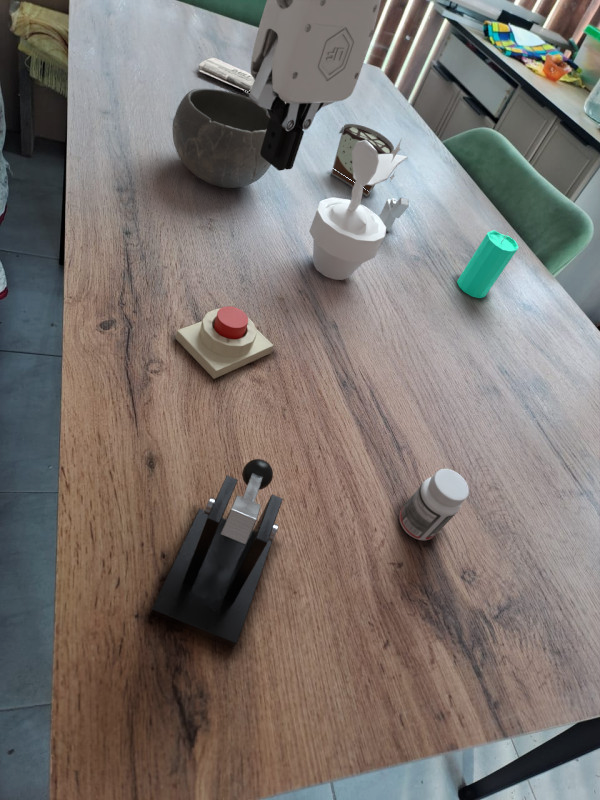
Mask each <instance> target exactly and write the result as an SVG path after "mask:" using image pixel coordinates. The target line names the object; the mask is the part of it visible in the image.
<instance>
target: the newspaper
mask: <svg viewBox="0 0 600 800" xmlns="http://www.w3.org/2000/svg"><path fill="white" fill-rule="evenodd" d="M198 69H199V70H198V72H200V73H202V74H205V75H207V76H209V77H212V78H214V79H216V80H219V81H221V82H223V83H225V84H228V85H230V86H233V87H234V88H237V89H240V90H242V91H244V90H245V91H244V92H246V91H248V92H250V91H251V88H252V86H253V83H254V81H255V79H254V78H253V77H252V75H251V72H247V71H246V70H243V69H242V68H240V67H236V66H234V65H232V64H229V63H228V62H225V61H223V60H221V59H218V58H216V57H211V58H207V59H205V60H203V61H201V62H200V63H199V64H198ZM249 90H250V91H249ZM248 92H247V93H248ZM285 104H286V102H285Z"/></svg>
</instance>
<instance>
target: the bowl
mask: <svg viewBox="0 0 600 800" xmlns="http://www.w3.org/2000/svg"><path fill="white" fill-rule="evenodd" d="M266 111H267V109H266V108H263V107H260V106H258V105H257V104H256V103H255V102H253V101H252V100H251V99H250V98H249V97H247V96H245V95H242V94H238V93H236V92H232V91H231V92H230V91H227V90H222V89H216V88H194V89H192V90H189V91H188V92H187V93H186V94H185V95H184V96H183V98H182V99H181V100H180V103H179V104H178V106H177V109H176V112H175V115H174V116H173V119H172V139H173V140H172V141H173V145H174V148H175V151H176V154H177V155H178V157H179V159H180V161H181V162H182V163H183V165H184V167H186V168H187V170H189V171H190V173H192V174H193V175H194V176H195V177H197V178H199V179H200V180H202V181H204V182H205V183H208V184H209V185H211V186H215V187H218V188H222V189H237V188H243V187H247V186H250V185H251V184H254V183H256V182H257V181H258V180H260V179H261V178H262V177H264V175H265V174H266V173H267V172H268V170H270V168H271V166H272V165H271V164H270V163H269V162H268V161H266V160H265V159H264V158H263V157H262V156H261V154H260V151H261V148H262V144H263V141H264V137H265V133H266V130H267V126H268V123H269V119H270V117H268V116H267V114H266Z"/></svg>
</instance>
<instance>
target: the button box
mask: <svg viewBox="0 0 600 800" xmlns="http://www.w3.org/2000/svg"><path fill="white" fill-rule="evenodd" d="M221 308H222V307H219V308H215V309H213V310H210V311H207V312H206V314H205V315H204V316H203V318H202V320H201V321H199V322H196V323H192V324H191V325H187V326H185V327H182V328H179V329H177V330H176V334H175V340H176V341H177V342H178V343H179V344H180V345H181V346H182V347H183V348H184V349H185V350H186V351H187V352H188V354H190V355H191V356H192V358H193V359H194V360H195V361H196V362H197V363H198V364H199V365H200V366H201V367H202V368H203V369H204V370H205V371H206V373H207V374H209V375H210V377H211V378H213V379H214V380H215V379H217V378H219V377H222V376H223V375H226V374H228V373H230V372H232V371H234V370H237V369H239V368H241V367H243V366H246V365H248V364H250V363H253V362H254V361H257V360H259V359H261V358H264V357H265V356H268V355H270V354H272V351H273V349H274V344H273V343H271V341H270V340H269V339H268V338H267V337H266V336H265V335H263V334H262V333H261V332H260V331H259V329H258V328H256V325H255V322H254V321H252V320H251V319H250V318H249V317H248V324H247V327H246V330H245V333H244V335H243V336H242V337H241V338H239V339H227V338H225V337H222V336H220V335H219V334H218V333H217V332H216V331H215V329H214V323H215V320H216V316H217V312H218V310H219V309H221Z"/></svg>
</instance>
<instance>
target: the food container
mask: <svg viewBox="0 0 600 800" xmlns="http://www.w3.org/2000/svg"><path fill="white" fill-rule="evenodd" d="M338 134H340V139H339V142H338V147H337V150H336V153H335V158H334V161H333V165H332V168H334V169H336V170H337V171H339V172H340V173H342V174H343V175H345V176H346V177H348V178H349V179H351V180H352V181H351V180H349V179H348V178H346V177H345V176H343V175H341V174H340V173H338V172H337V171H335V170H334V169H332V168H331V175H332V176H334V177H336V178H337V179H339V180H340V181H342V182H344V183H345V184H347V185H348V186H350V187H351V188H353V187H354V184H355V183H354V182H356V180H355V179H354V178H353V173H354V171H353V165H352V150H353V149H354V147H355V145H356V143H357V142H359V141H362V140H367V141H368V142H369V143H370V144H371V145H372V146H373V147H374V148H375V149H376V151H377V153H378V155H379V154H393V153H391V152H392V151H394V150H395V146H394V144H393V143H392V142H391V140H389V138H388V137H386V136H385V135H384V134H381V133H380V132H378V131H377V130H375V129H373V128H370V127H367V126H365V125H362V124H361V125H360V124H358V123H344V125H343V126H341V128H340V131H338ZM353 181H354V182H353ZM363 187H364V188H365V189H366V190H365V189H364V188H363V193H362V195H364V196H365V197H369V196H370V195H371V193H372V191H373V190H374V188H375V187H376V184H375V185H372V186H371V185H365V186H363ZM367 190H368V191H369V192H368V191H367ZM370 191H371V192H370Z"/></svg>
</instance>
